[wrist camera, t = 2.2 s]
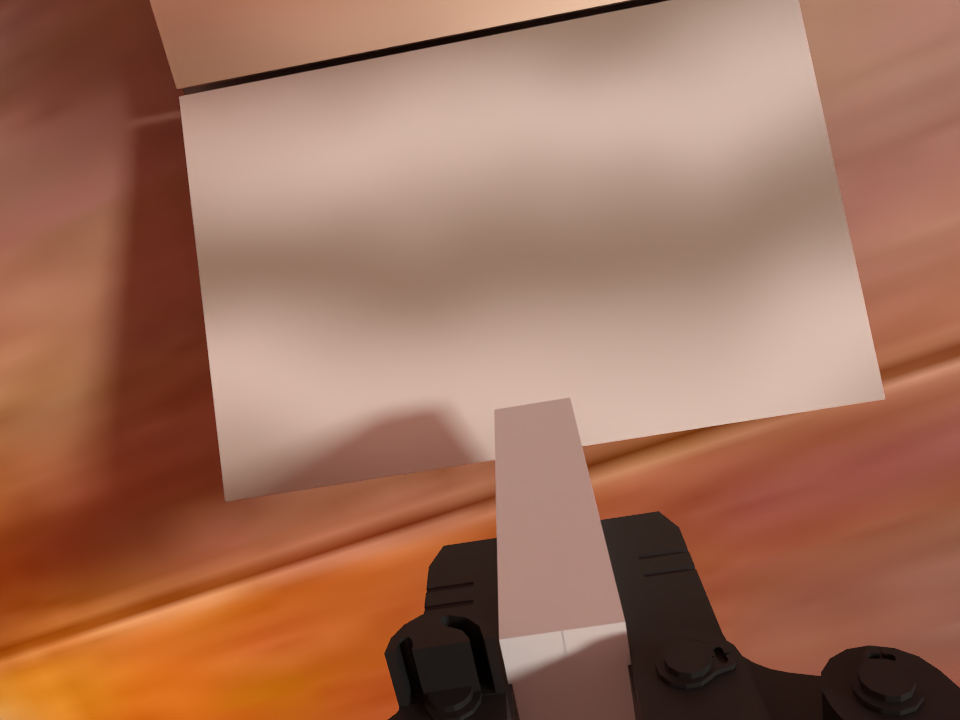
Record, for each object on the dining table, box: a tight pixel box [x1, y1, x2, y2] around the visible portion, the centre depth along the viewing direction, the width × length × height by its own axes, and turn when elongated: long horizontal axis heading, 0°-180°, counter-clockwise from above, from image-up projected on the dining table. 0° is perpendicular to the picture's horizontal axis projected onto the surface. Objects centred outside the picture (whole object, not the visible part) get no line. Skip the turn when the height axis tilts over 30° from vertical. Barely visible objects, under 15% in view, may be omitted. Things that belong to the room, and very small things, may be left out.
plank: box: [179, 0, 885, 502], centre depth 19 cm, size 10×15×2 cm, turn 99°
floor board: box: [150, 0, 669, 95], centre depth 20 cm, size 21×16×2 cm
